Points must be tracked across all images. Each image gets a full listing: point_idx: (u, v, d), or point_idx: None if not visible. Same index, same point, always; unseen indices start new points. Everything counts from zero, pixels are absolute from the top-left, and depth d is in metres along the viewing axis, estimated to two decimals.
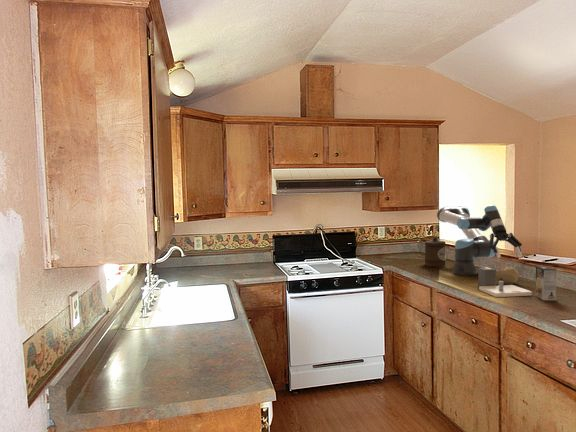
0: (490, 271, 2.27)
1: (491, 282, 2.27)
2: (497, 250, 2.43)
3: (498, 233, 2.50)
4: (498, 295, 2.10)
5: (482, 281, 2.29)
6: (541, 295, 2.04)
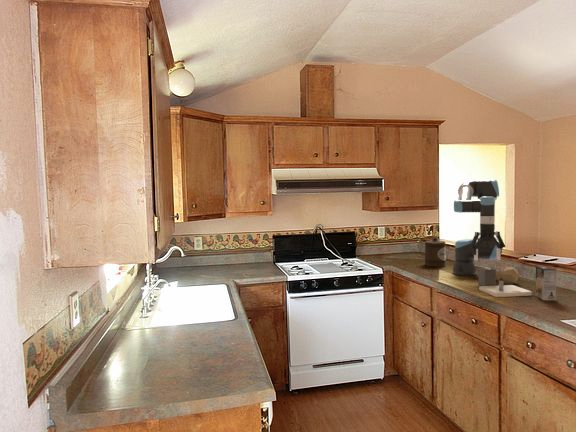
0: (490, 271, 2.27)
1: (491, 282, 2.27)
2: (476, 253, 2.28)
3: (485, 232, 2.28)
4: (498, 295, 2.10)
5: (482, 281, 2.29)
6: (541, 295, 2.04)
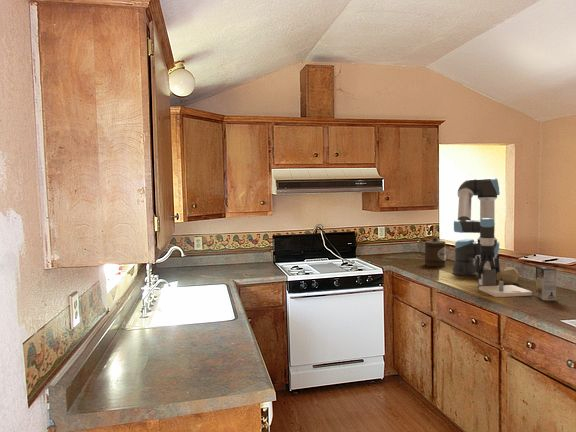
0: (490, 271, 2.27)
1: (491, 282, 2.27)
2: (481, 278, 2.29)
3: (484, 253, 2.28)
4: (498, 295, 2.10)
5: None
6: (541, 295, 2.04)
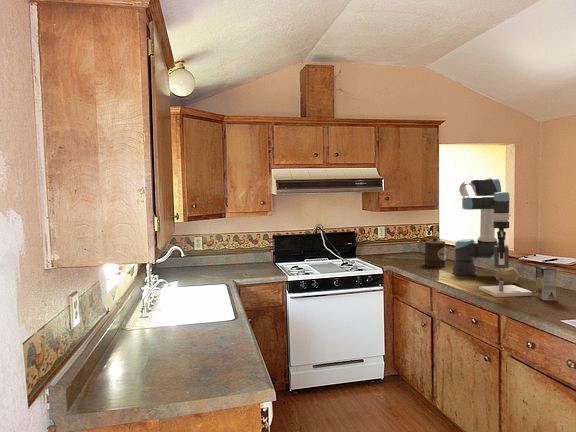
0: None
1: None
2: None
3: (503, 230, 2.11)
4: (498, 295, 2.10)
5: None
6: (541, 295, 2.04)
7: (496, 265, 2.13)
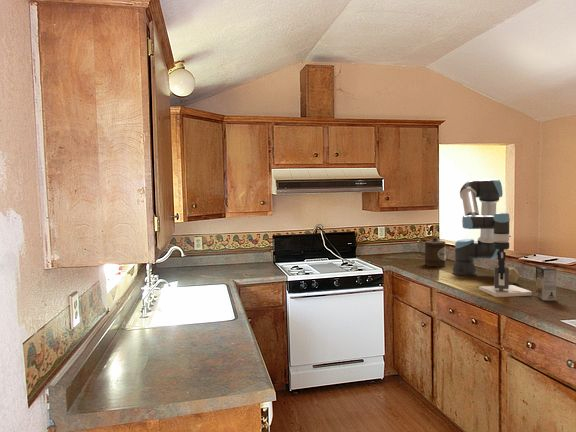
0: None
1: None
2: (504, 277, 2.11)
3: (503, 250, 2.12)
4: (498, 295, 2.10)
5: None
6: (541, 295, 2.04)
7: (496, 286, 2.14)
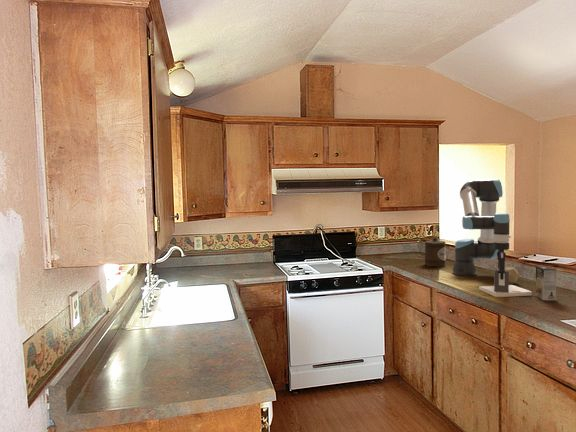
0: None
1: None
2: (504, 277, 2.10)
3: (503, 251, 2.12)
4: (498, 295, 2.10)
5: None
6: (541, 295, 2.04)
7: (496, 289, 2.14)
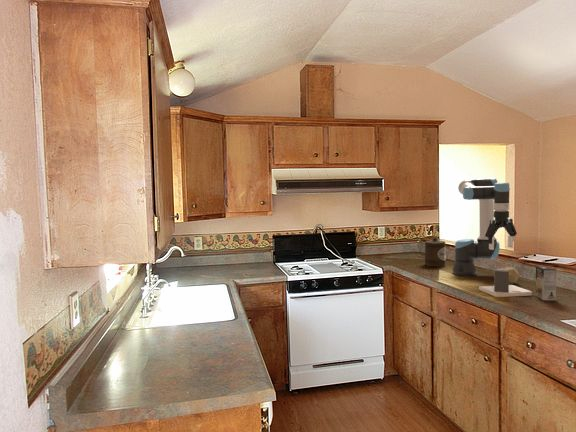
0: None
1: None
2: (492, 242, 2.19)
3: (500, 220, 2.19)
4: (498, 295, 2.10)
5: (503, 284, 2.12)
6: (541, 295, 2.04)
7: (496, 289, 2.14)
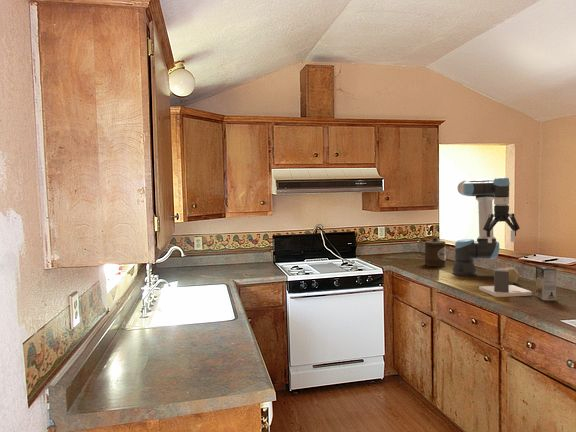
0: None
1: None
2: (490, 235, 2.24)
3: (499, 214, 2.24)
4: (498, 295, 2.10)
5: (503, 284, 2.12)
6: (541, 295, 2.04)
7: (496, 289, 2.14)
